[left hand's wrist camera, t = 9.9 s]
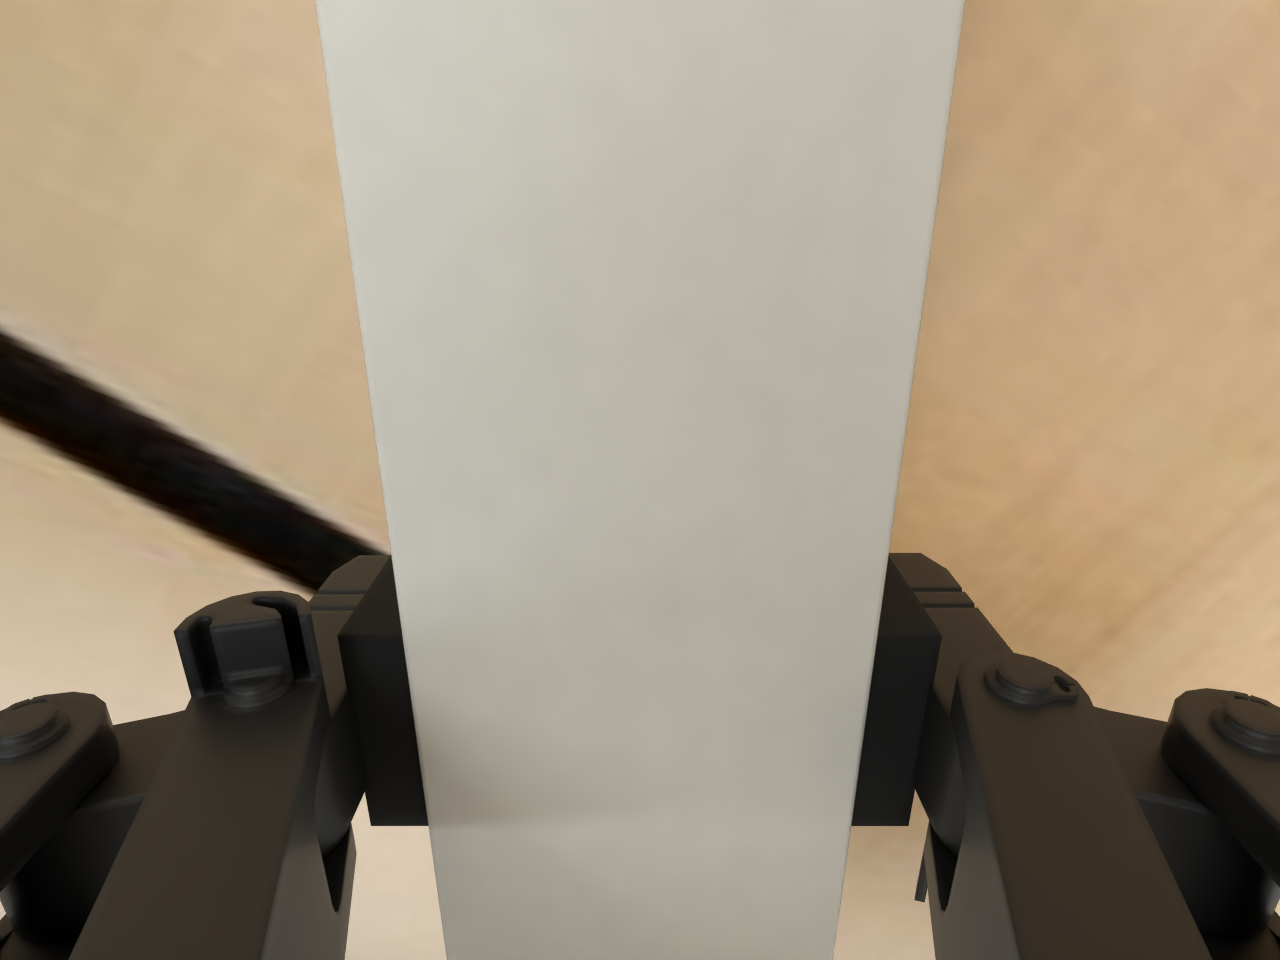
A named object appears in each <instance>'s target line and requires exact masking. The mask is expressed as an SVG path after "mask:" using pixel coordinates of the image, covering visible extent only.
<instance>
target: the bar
mask: <svg viewBox="0 0 1280 960" xmlns="http://www.w3.org/2000/svg"><path fill="white" fill-rule="evenodd" d="M315 2H316V10H317V17H318V24H319V31H320V39H321V46H322V53H323V61H324V68H325V75H326V82H327V90H328V97H329V104H330V111H331V119H332V126H333V133H334V141H335V148H336V155H337V162H338V170H339V177H340V184H341V192H342V199H343V206H344V213H345V221H346V228H347V235H348V243H349V250H350V257H351V264H352V272H353V279H354V286H355V294H356V301H357V308H358V315H359V323H360V330H361V337H362V344H363V352H364V359H365V366H366V374H367V381H368V388H369V395H370V403H371V410H372V417H373V425H374V432H375V439H376V446H377V454H378V461H379V468H380V476H381V483H382V490H383V497H384V505H385V512H386V519H387V527H388V534H389V541H390V548H391V556H392V563H393V570H394V577H395V585H396V592H397V599H398V607H399V614H400V621H401V628H402V636H403V643H404V650H405V658H406V665H407V672H408V679H409V687H410V694H411V701H412V709H413V716H414V723H415V730H416V738H417V745H418V752H419V760H420V767H421V774H422V781H423V789H424V796H425V803H426V810H427V818H428V825H429V832H430V840H431V847H432V854H433V861H434V869H435V876H436V883H437V891H438V898H439V905H440V912H441V920H442V927H443V934H444V942H445V949H446V956H447V960H833V953H834V946H835V939H836V932H837V925H838V917H839V910H840V903H841V896H842V888H843V881H844V874H845V867H846V859H847V852H848V845H849V838H850V830H851V823H852V816H853V809H854V801H855V794H856V787H857V780H858V772H859V765H860V758H861V751H862V743H863V736H864V729H865V722H866V714H867V707H868V700H869V693H870V685H871V678H872V671H873V664H874V656H875V649H876V642H877V635H878V628H879V620H880V613H881V606H882V599H883V591H884V584H885V577H886V570H887V562H888V555H889V548H890V541H891V533H892V526H893V519H894V512H895V504H896V497H897V490H898V483H899V475H900V468H901V461H902V454H903V446H904V439H905V432H906V425H907V417H908V410H909V403H910V396H911V388H912V381H913V374H914V367H915V359H916V352H917V345H918V338H919V331H920V323H921V316H922V309H923V302H924V294H925V287H926V280H927V273H928V265H929V258H930V251H931V244H932V236H933V229H934V222H935V215H936V207H937V200H938V193H939V186H940V178H941V171H942V164H943V157H944V149H945V142H946V135H947V128H948V120H949V113H950V106H951V99H952V91H953V84H954V77H955V70H956V62H957V55H958V48H959V41H960V33H961V26H962V19H963V12H964V5H965V0H315Z"/></svg>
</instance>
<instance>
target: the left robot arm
mask: <svg viewBox="0 0 1280 960" xmlns="http://www.w3.org/2000/svg"><path fill="white" fill-rule="evenodd" d="M174 635H175V638H176V642H177V646H178V649H179V653H180V657H181V660H182V664H183V668H184V671H185V675H186V679H187V682H188V686H189V689H190V693H191V699H190V701H189V703H188V706H187V708H186V710H183V711H180V712H176V713H172V714H167V715H162V716H157V717H152V718H147V719H142V720H137V721H132V722H127V723H122V724H117V725H112V722H111V719H110V716H109V712H108V709H107V706H106V703H105V702H104V701H102V700H101V699H99V698H98V697H97V696H95V695H94V694H87V693H79V692H67V693H59V694H51V695H43V696H38V697H34V698H33V699H31V700H29V699H27V700H24V701H21V702H18V703H15V704H13V705H11V706H10V707H8V708H6V709H4V710H2V711H0V901H1V903H2V905H3V908H4V910H5V912H6V914H5V915H4V917H3V918H2V919H1V920H0V960H344V959H345V951H346V942H347V933H348V924H349V915H350V906H351V897H352V888H353V880H354V871H355V862H356V847H355V841H354V835H353V830H352V824H351V821H352V819H353V816H354V814H355V812H356V810H357V807H358V805H359V803H360V801H361V799H362V796H363V794H364V792H365V795H366V800H367V806H368V811H369V817H370V823H371V826H429V825H428V818H427V810H426V803H425V796H424V789H423V781H422V774H421V767H420V760H419V752H418V745H417V738H416V730H415V723H414V716H413V709H412V701H411V694H410V687H409V679H408V672H407V665H406V658H405V650H404V643H403V636H402V628H401V621H400V614H399V607H398V599H397V592H396V585H395V577H394V570H393V563H392V556H391V555H359V556H357V557H356V558H354V559H353V560H351V561H349V562H348V563H346V564H345V565H343V566H341V567H340V568H338V569H336V570H335V571H333V572H332V573H331V575H330V576H329V577H328V579H327V580H326V581H325V582H324V584H323V585H322V586H321V587H320V589H319V590H318V594H315V595H314V596H313V598H312V599H311V600H310V601H309V602H308V601H306V600H305V599H304V598H302V597H301V596H299V595H298V594H293V593H288V592H283V591H258V592H252V593H247V594H242V595H237V596H232V597H229V598H226V599H224V600H221V601H218V602H215V603H213V604H210V605H207V606H205V607H204V608H202V609H200V610H199V611H197V612H195V613H194V614H192V615H190V616H189V617H187V618H186V619H185V620H184V621H183V622H182V623H181V624H180V625H179V626H178V627H177V628H176V629H175V630H174ZM915 790H916V792H917V794H918V796H919V798H920V801H921V803H922V805H923V807H924V809H925V812H926V814H927V816H928V818H929V824H928V830H927V835H926V840H925V845H924V851H923V856H922V861H921V866H920V871H919V877H918V882H917V888H916V894H915V900H916V901H921V902H925V897H926V892H927V887H928V895H929V904H930V913H931V922H932V931H933V940H934V949H935V957H936V960H1280V916H1279V915H1278V914H1277V913H1276V912H1275V911H1274V910H1275V908H1276V906H1277V904H1278V901H1279V899H1280V707H1278V706H1275V705H1273V704H1272V703H1270V702H1269V701H1267V700H1264V699H1261V698H1258V697H1255V696H1252V695H1251V696H1248V694H1244V693H1240V692H1235V691H1225V690H1217V689H1208V688H1206V689H1198V690H1190V691H1186V692H1184V693H1183V694H1182V695H1180V696H1179V697H1178V698H1176V699H1175V701H1174V704H1173V707H1172V710H1171V713H1170V716H1169V719H1168V722H1164V721H1159V720H1154V719H1149V718H1144V717H1139V716H1134V715H1129V714H1124V713H1119V712H1114V711H1109V710H1105V709H1101V708H1097V707H1094V706H1093V704H1092V702H1091V700H1090V698H1089V696H1088V695H1087V693H1086V692H1085V691H1084V689H1083V688H1082V687H1081V686H1080V684H1079V683H1078V682H1077V681H1076V680H1075V679H1073V678H1072V677H1070V676H1069V675H1067V674H1066V673H1065V672H1063V671H1062V670H1060V669H1059V668H1057V667H1055V666H1052V665H1050V664H1048V663H1045V662H1043V661H1041V660H1038V659H1036V658H1033V657H1029V656H1025V655H1020V654H1016V653H1013V652H1012V650H1011V649H1010V648H1009V647H1008V645H1007V644H1006V643H1005V642H1004V640H1003V639H1002V638H1001V637H1000V635H999V634H998V633H997V631H996V630H995V629H994V628H993V626H992V625H991V624H990V623H989V621H988V620H987V619H986V618H985V616H984V615H983V614H982V613H981V611H980V610H979V609H978V608H975V607H974V603H973V601H972V600H971V599H970V598H969V596H968V595H967V594H966V593H965V592H962V588H961V586H960V585H959V584H958V583H957V581H956V580H955V579H954V578H953V576H952V575H951V574H950V573H949V571H948V570H947V569H946V568H944V567H942V566H941V565H939V564H938V563H936V562H934V561H933V560H931V559H929V558H928V557H926V556H925V555H923V554H921V553H889V555H888V562H887V570H886V577H885V584H884V591H883V599H882V606H881V613H880V620H879V628H878V635H877V642H876V649H875V656H874V664H873V671H872V678H871V685H870V693H869V700H868V707H867V714H866V722H865V729H864V736H863V743H862V751H861V758H860V765H859V772H858V780H857V787H856V794H855V801H854V809H853V816H852V823H851V826H908V825H909V820H910V814H911V808H912V803H913V797H914V791H915Z"/></svg>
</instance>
